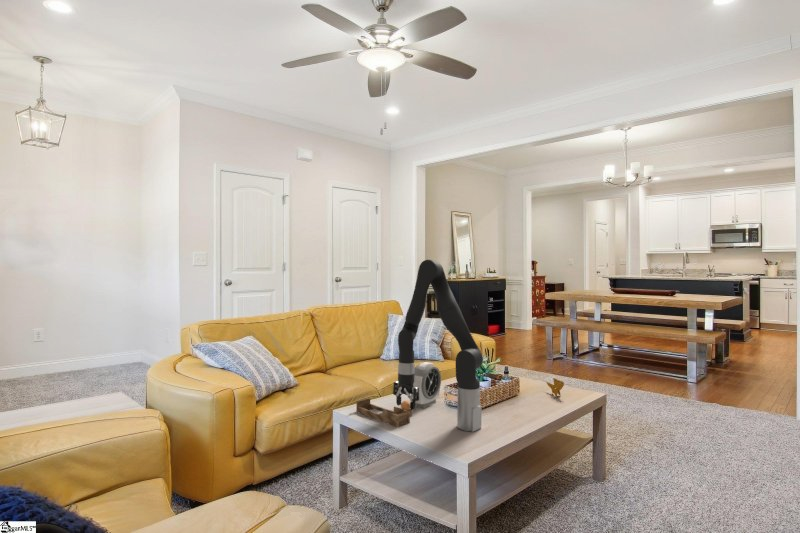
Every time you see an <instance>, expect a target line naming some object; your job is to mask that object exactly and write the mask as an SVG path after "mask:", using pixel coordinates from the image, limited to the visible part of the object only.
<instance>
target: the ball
mask: <svg viewBox="0 0 800 533" xmlns="http://www.w3.org/2000/svg"><path fill="white" fill-rule="evenodd" d="M410 402H411V401H410V400H409V401H408V400H402V401H401V405H400V407H401V409H404V410H407V411H408V410H409V409H410Z"/></svg>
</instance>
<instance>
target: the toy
mask: <svg viewBox="0 0 800 533" xmlns="http://www.w3.org/2000/svg"><path fill="white" fill-rule="evenodd" d="M552 380H553V384H552V383H550V382H548V381H545V382H546V385H547V386H548V387H549V388H550V389H551V393H552V394H553V393H554V394H553V395H554V397H557V396H559V397H562V396H561V390H562V389H563V388H564V386H565V383H564V381H562V380H559V379H557V378H554V377H553V378H552Z"/></svg>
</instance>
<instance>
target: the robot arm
mask: <svg viewBox="0 0 800 533" xmlns="http://www.w3.org/2000/svg"><path fill="white" fill-rule="evenodd" d="M430 286H431V288H432V289H433V292H434V294H435V301H436V308H437V309H436V310H437V312H438V314H439V317H440V320H441V321H442V324H443V325H444V327H445V328H446V330H448V332H449V333H450V334H451V335H452V336H453V337H454V339H455V340H456V342H457V344H458V346H459V348H460V351H458V352H457V354H456V355H455V356H456V357H455V379H456V382H457V406H456V408H457V410H456V411H457V412H456V413H457V416H456V418H457V420H456V421H457V423H456V425H457V426H456V428H458V429H460V430H462V431H465V432H472V433H474V432H476V431H478V430H480V429H482V412H483V411H482V408H483V406H482V405H481V404H480V399H481V398H480V392H481V391H480V389H481V388H480V387H481V382H480V380H479V378H477V373H476V372H477V371H476V370H477V369H479V368H481V367H482V365H483V363H484V361H483V360H484V357H483V354H482V352H481V350H480V347H479V346H478V345H477V344H478V343H476V341H475V339H474V337H473V336H472V333H471V331H470V330H469V329H470V328H469V327H468V324H467V323H466V320H465V318H464V316H463V312H462V310H461V308H460V306H459V304H458V302H457V300H456V298H455V296H454V293H453V291H452V290H451V288H450V285H449V282H448V279H447V277H446V273H445V270H444V268H443V266H442V263H440V262H439V261H436V260H433V259H425V260H423V261H421V263H420V264H419V266H418V270H417V276H416V282H415V286H414V290H413V293H412V297H411V301H410V303H409V306H408V309H407V311H406V315H405V318H404V320H405V321H404V324H403V327H402V329H401V330H400V331H399V333H398V336H397V342H398V343H397V344H398V350H399V351H398V365H397V366H398V367H397V381H394V382H393V386H392V387H393V388H392V394H393V396H395V397H396V400H395V401H396V405H397V407H398V406H401V404H402V395H404V396H407V398H408V399H409V402H410V410H412V411H414V410H415V409H416V406H415V402H416V401H419V388H418V387H416V388H415V387H414V386H413V383H414V376H415V367H416V366H415V351H414V340H416V336H417V335H418V334H417V333H418V330H419V325H420V323H421V321H422V318H423V315H424V312H425V309H426V306H427V305H426V304H427V303H426V302H427V295H428V294H427V293H428V290H429V288H430ZM411 394H412V395H411ZM412 398H413V399H412Z"/></svg>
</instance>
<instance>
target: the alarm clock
mask: <svg viewBox="0 0 800 533" xmlns="http://www.w3.org/2000/svg"><path fill="white" fill-rule="evenodd" d="M441 384H442V375H441V371H440V369H439V368H438V367H437V366H436V365H434V363H432V362H427V361H425V362H424V361H423V362H421V363H419V364H417V365H416V366H415V376H414V383H413V386H414V387H415V388H416V387H418V388H419V401H416V402H415V407H418V408H423V409H424V408H427V407H429V406H431V405H433V404H436V403H437V400H436V399H438V398H439V397H440V392H441ZM410 395H412V394H410ZM412 399H413V398H412Z"/></svg>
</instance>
